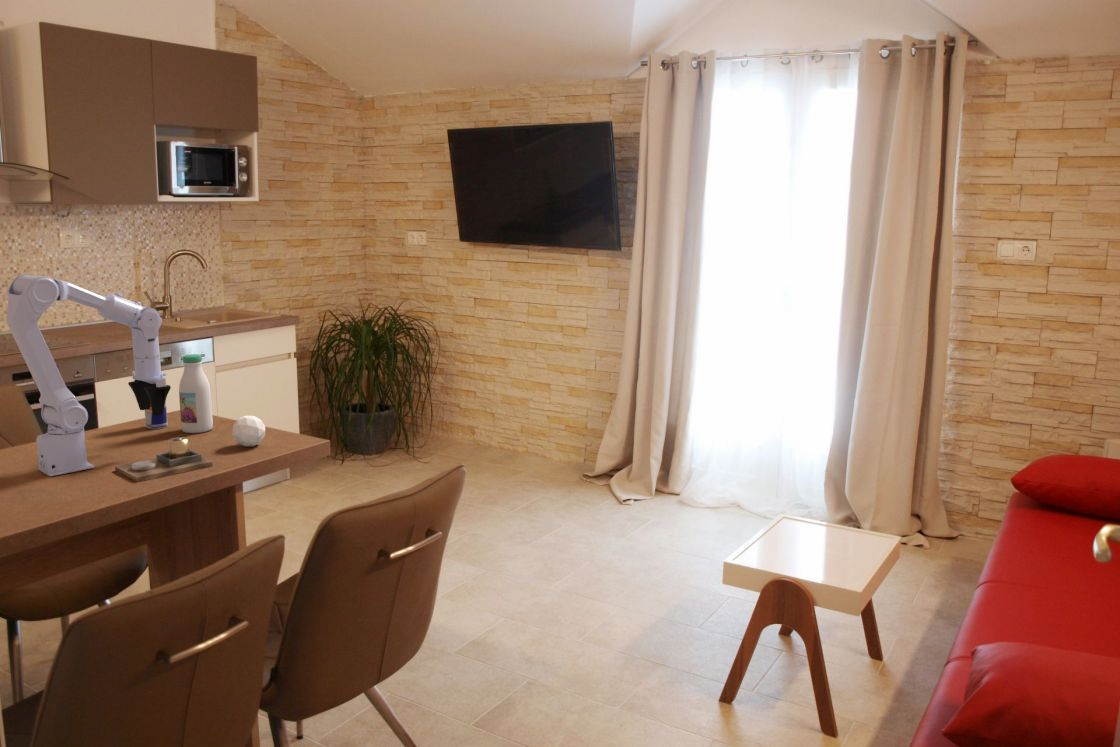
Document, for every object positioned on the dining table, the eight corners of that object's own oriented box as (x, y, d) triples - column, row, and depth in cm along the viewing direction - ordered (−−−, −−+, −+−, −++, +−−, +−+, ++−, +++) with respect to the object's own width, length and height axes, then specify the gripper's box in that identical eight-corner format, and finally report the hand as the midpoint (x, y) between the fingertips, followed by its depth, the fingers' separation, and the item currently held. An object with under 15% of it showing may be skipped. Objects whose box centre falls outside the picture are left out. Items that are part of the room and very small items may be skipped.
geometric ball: (258, 456, 231) (269, 434, 227) (226, 448, 227) (236, 426, 223) (260, 435, 236) (271, 413, 232) (228, 427, 233) (239, 405, 229)
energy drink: (144, 430, 245) (140, 385, 243) (147, 425, 251) (144, 381, 248) (166, 428, 247) (162, 384, 245) (169, 423, 252) (165, 380, 250)
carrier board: (137, 482, 201) (136, 470, 201) (115, 470, 210) (114, 459, 209) (212, 465, 213) (211, 455, 213) (189, 455, 222) (188, 445, 221)
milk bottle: (207, 425, 251) (202, 351, 247) (217, 430, 245) (212, 355, 241) (177, 429, 246) (171, 354, 242) (187, 435, 240) (181, 359, 236)
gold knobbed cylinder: (174, 464, 211) (172, 442, 210) (165, 460, 214) (164, 438, 213) (193, 460, 214) (191, 438, 213) (184, 457, 217) (183, 435, 216)
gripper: (176, 358, 220) (181, 414, 223) (150, 350, 230) (155, 404, 233) (146, 362, 215) (151, 419, 218) (121, 354, 225) (126, 409, 228)
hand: (151, 412), depth 225 cm, fingers open, 7 cm apart
